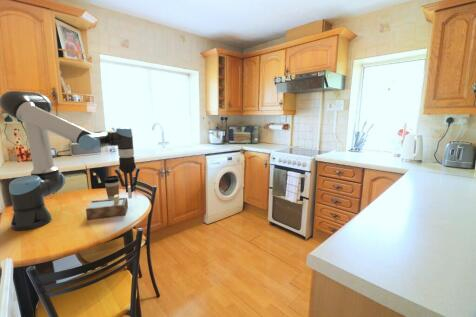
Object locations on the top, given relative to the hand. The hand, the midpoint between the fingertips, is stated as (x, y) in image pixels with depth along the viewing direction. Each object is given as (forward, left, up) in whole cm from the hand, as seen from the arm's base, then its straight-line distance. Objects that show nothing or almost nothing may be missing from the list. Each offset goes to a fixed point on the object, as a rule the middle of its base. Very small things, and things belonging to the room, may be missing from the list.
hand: (130, 197), depth 132 cm
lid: (-12, 0, -3) cm, 13 cm away
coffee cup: (-13, +21, -8) cm, 26 cm away
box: (-12, 0, -8) cm, 14 cm away
